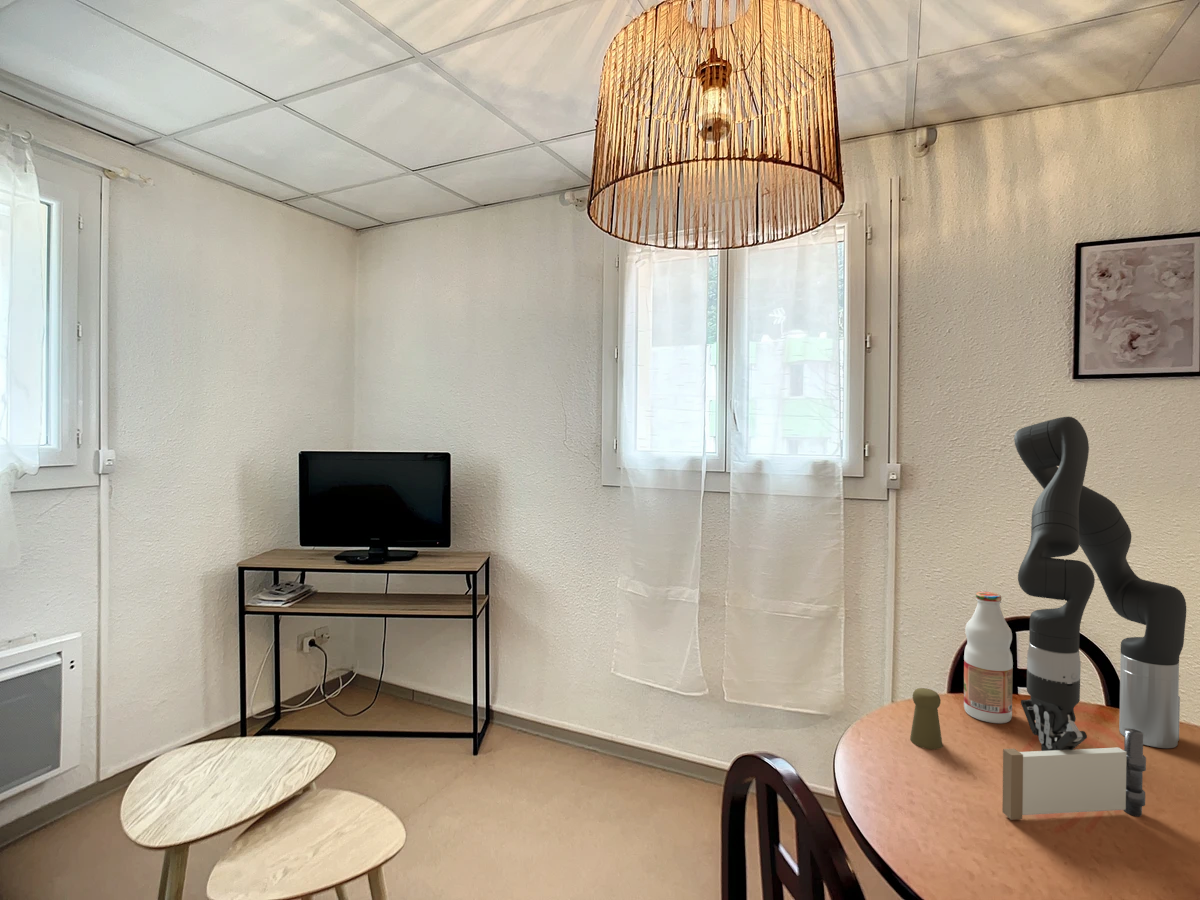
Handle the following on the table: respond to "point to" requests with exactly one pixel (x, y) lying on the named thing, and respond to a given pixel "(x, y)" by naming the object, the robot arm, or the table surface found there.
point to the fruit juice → (988, 662)
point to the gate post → (1134, 772)
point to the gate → (1063, 781)
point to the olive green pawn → (926, 719)
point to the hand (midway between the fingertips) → (1050, 766)
